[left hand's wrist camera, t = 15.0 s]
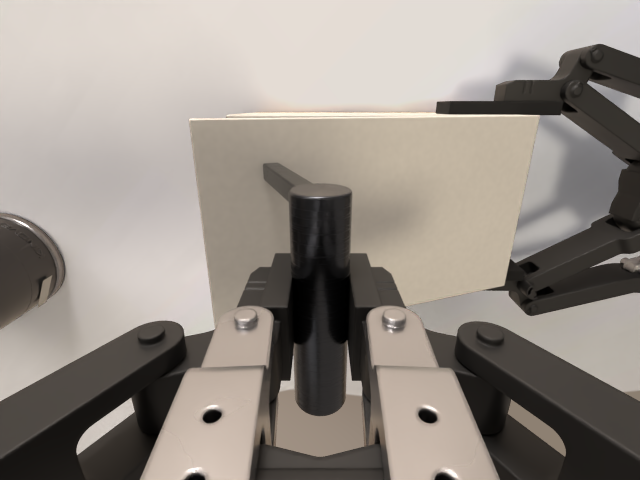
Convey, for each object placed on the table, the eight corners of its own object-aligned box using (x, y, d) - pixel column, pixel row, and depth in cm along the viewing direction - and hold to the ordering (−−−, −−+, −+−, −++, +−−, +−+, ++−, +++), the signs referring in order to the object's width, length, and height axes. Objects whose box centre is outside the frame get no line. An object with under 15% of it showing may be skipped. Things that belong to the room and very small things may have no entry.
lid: (216, 336, 17) (236, 483, 11) (188, 118, 14) (193, 130, 7) (494, 280, 23) (624, 353, 16) (527, 115, 19) (712, 119, 13)
